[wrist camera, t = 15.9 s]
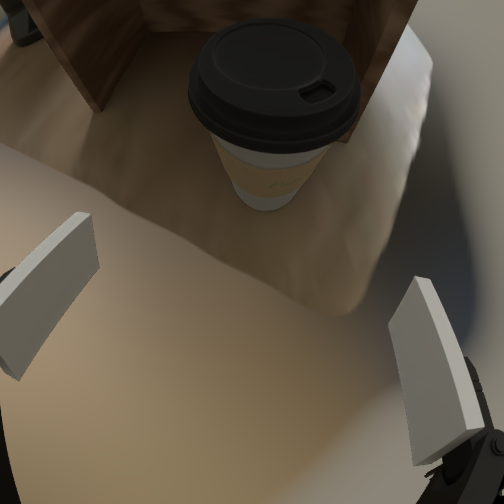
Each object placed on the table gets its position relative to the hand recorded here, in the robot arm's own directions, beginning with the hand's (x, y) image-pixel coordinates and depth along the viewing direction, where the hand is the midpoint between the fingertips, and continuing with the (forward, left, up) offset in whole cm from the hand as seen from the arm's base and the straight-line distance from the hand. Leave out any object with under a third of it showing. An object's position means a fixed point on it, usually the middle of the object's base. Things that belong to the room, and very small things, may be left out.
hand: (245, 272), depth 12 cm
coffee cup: (-2, +10, -14) cm, 18 cm away
